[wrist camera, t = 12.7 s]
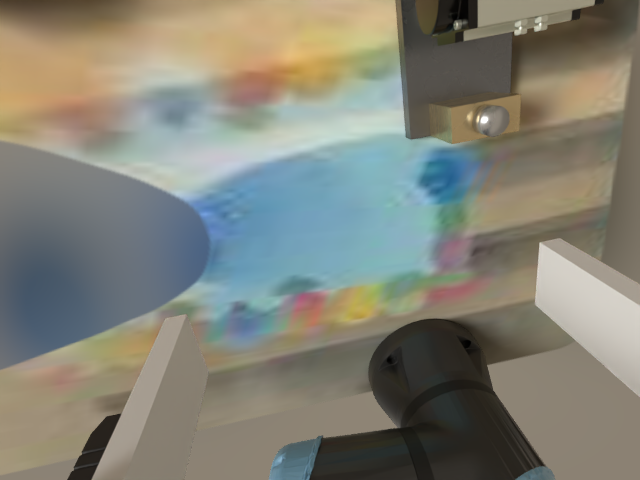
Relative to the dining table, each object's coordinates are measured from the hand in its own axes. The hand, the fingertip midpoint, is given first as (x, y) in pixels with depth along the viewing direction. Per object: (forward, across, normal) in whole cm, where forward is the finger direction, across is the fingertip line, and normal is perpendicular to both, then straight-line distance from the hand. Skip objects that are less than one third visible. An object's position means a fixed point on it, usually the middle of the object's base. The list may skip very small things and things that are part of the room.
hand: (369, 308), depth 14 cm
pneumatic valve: (+25, -15, -11) cm, 31 cm away
